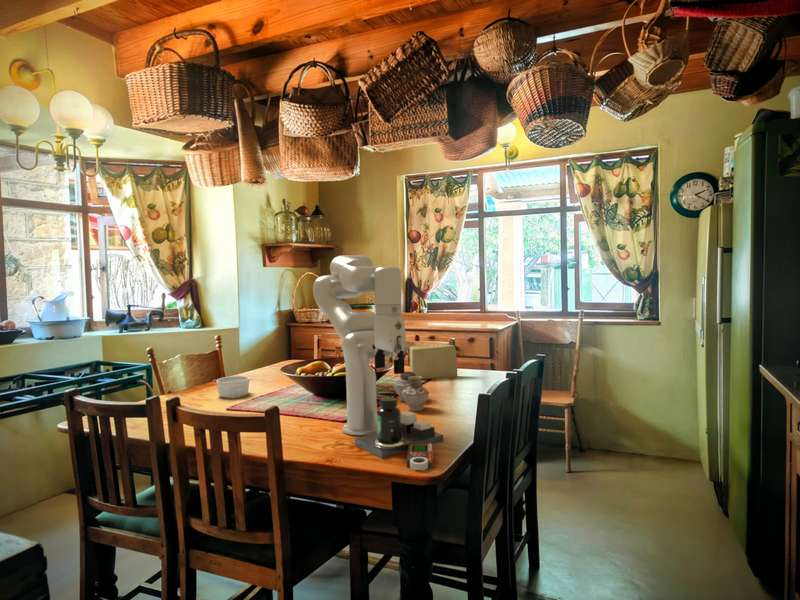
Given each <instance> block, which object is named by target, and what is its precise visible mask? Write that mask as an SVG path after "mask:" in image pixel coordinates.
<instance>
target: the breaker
mask: <svg viewBox="0 0 800 600" xmlns="http://www.w3.org/2000/svg"><path fill="white" fill-rule="evenodd" d="M416 421H417V413H416V412H415V413H414V412H412V411H405V412H401V423H403V424H405V425H409V424H413V423H414V422H416Z"/></svg>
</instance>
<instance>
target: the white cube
mask: <svg viewBox="0 0 800 600" xmlns="http://www.w3.org/2000/svg"><path fill="white" fill-rule="evenodd" d="M431 427H432V423H431V422H429V421H426V420H424V419H423V420H419V421H417V422H414V428H416V429H419V430H425V429H429V428H431Z"/></svg>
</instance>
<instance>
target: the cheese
mask: <svg viewBox="0 0 800 600" xmlns="http://www.w3.org/2000/svg"><path fill="white" fill-rule="evenodd" d="M409 371H410V372H415V374H416V376H421V377H422V379H421V380H428V379H441V378H442V379H443V378H456V377H458V358H457V350H456V346H455V345H454V344H453V345H452V344H448V345H434V346H419V345H418V346H417V345H415V346H414V345H412V346H409Z"/></svg>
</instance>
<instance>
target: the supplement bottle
mask: <svg viewBox="0 0 800 600" xmlns="http://www.w3.org/2000/svg"><path fill="white" fill-rule="evenodd" d="M401 413H402V411H401V409H400V408H399V407H398V399H397V398H396V397H393V396H392V397H389V396H387V397H382V398H380V399H379V408H377V440H378V442H379V443H382V444H396V443H398V442H400V441H401Z"/></svg>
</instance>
